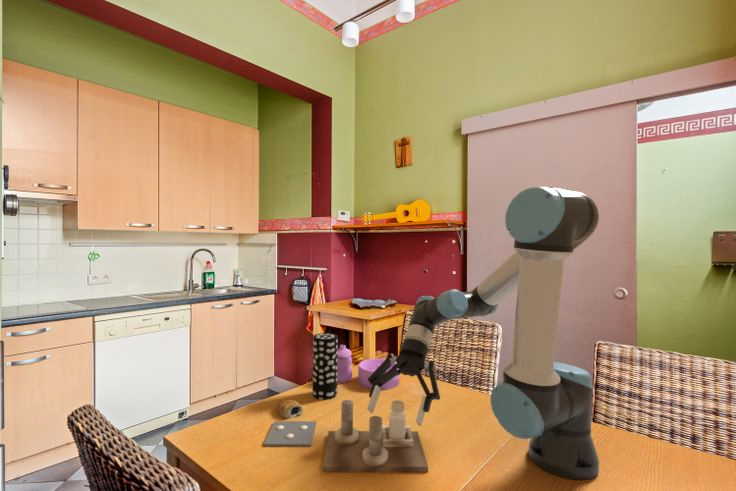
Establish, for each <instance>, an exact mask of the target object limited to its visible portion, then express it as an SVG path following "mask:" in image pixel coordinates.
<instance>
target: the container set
mask: <svg viewBox="0 0 736 491" xmlns="http://www.w3.org/2000/svg"><path fill="white" fill-rule="evenodd" d="M346 346H347V345H345V344H340V345H339V348H338V353H337V383H342V384H344V383H348V382H350V380H351V379H352V377H353V370H352V368H351V367H350V366H351V365H352V363H353V358H352V351H351V350H350V349H349V348H347V347H346ZM385 360H386V358H370V359H364V360H362V361H359V363H358V366H357V368H358V369H357V373H358V374H357V384H358V385H359V386H361V387H363V388H365V389H369V390H371V388H372V385H371V384H370V383H369V381H368V378H369V377H370V376H371V375H372V374H373V372H374V371H375V370H376V369H377V368H378V367H379V366H380V365H381V364H382V363H383V362H384V361H385ZM395 364H397V362H394V364H392V365H391V367H390V368H389V369H388V370H387V371H389V370H390V369H391V368H392V367H393V366H394V365H395ZM398 369H399V368H398ZM398 369H397V370H398ZM387 371H386V372H387ZM386 372H385V373H386ZM399 384H400V375H397V376H395V377H394V378H392V379H391V380H389V381H388V382H387V383H385V384H384V385H382V386H381V387H380V389H381V391H384V390H385V391H386V390H390V389H394V388H396V387H398V386H399Z"/></svg>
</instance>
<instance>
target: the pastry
mask: <svg viewBox="0 0 736 491" xmlns="http://www.w3.org/2000/svg"><path fill="white" fill-rule="evenodd" d="M276 409H277V412H278V415H281V417H282V418H283V419H286V420H289V419H294V418H295V417H297V416H300V415H301V414H303V412H304V407H303V405H302V404H300V403H299V402H297V401H296V400H291V399H285V400H280V401H279V400H278V402H277V403H276Z"/></svg>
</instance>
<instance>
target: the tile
mask: <svg viewBox="0 0 736 491" xmlns="http://www.w3.org/2000/svg"><path fill="white" fill-rule="evenodd" d="M316 426H317V421H315V420H314V421H313V420H312V421H311V420H310V421H309V420H307V421H305V420H303V421H301V420H300V421H299V420H298V421H297V420H293V421H291V420H288V421H287V420H282V421H281V420H277V421H275V420H274V421H273V423H272V425H271V427H270V430H269V432H268V434H267V436H266V437H265V440H264V443H263V447H312V445H313V444H312V443H313V439H314V435H315V430H316Z"/></svg>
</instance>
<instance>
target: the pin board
mask: <svg viewBox="0 0 736 491" xmlns="http://www.w3.org/2000/svg"><path fill="white" fill-rule="evenodd" d="M340 411H341V414H340V415H341V416H340V420H341V421H340V428H339V429H337V430H328V435H327V439H326V447H325V453H324V459H323V465H322V472H323V473H360V472H361V473H363V472H364V473H419V472H420V473H428V472H429V465H428V462H427V459H426V454H425V452H424V449H423V445H422V442H421V438H420V436H419V431H418V430H411V428H410V427H411V426H410V425H405V439H389V425H383V418H382V417H380V416H378V415H377V416H376V415H375V416H370V417H369V420H368V421H369V424H368V426H369V427H368V430H358V429H356V428H354V425H353V424H354V401H353V400H350V399H345V400H342V401H341V410H340Z"/></svg>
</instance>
